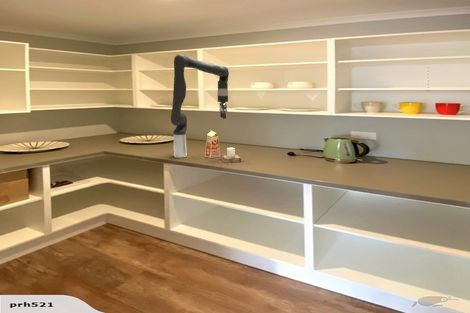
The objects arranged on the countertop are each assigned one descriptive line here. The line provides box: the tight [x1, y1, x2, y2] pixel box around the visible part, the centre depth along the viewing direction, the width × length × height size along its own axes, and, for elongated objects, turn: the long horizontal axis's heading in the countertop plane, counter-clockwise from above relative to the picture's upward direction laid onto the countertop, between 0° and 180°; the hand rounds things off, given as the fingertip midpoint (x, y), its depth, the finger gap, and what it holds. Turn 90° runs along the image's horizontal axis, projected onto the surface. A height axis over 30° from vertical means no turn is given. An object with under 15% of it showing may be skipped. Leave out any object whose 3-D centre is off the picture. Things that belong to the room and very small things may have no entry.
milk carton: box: [204, 130, 221, 159], centre depth 287 cm, size 9×9×20 cm
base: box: [220, 154, 242, 164], centre depth 272 cm, size 12×12×3 cm
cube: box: [226, 147, 236, 157], centre depth 272 cm, size 5×5×6 cm
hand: (223, 118), depth 273 cm, fingers open, 8 cm apart
